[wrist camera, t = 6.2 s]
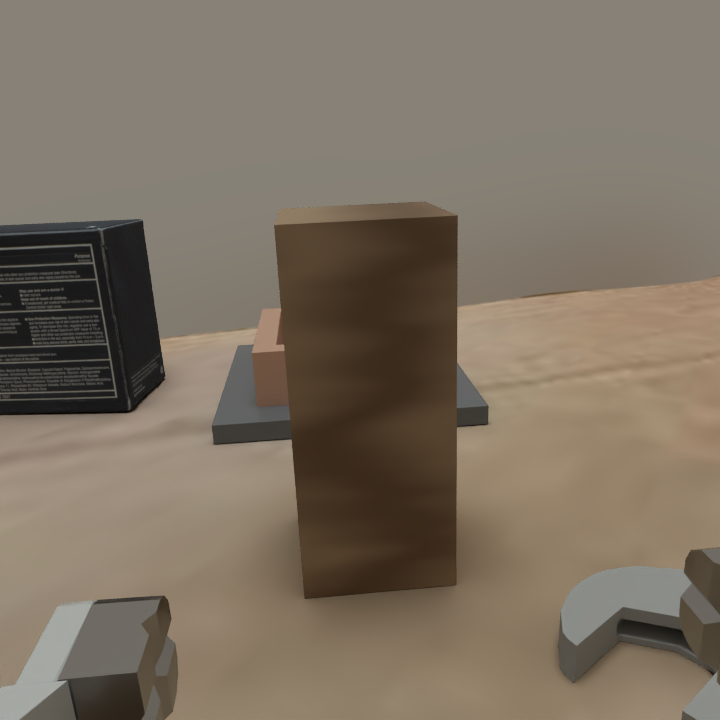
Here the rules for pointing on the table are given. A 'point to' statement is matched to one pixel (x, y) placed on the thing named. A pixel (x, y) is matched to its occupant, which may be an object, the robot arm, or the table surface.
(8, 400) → the small box
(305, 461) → the walnut block
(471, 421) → the dock
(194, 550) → the table surface
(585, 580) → the adjustable wrench
